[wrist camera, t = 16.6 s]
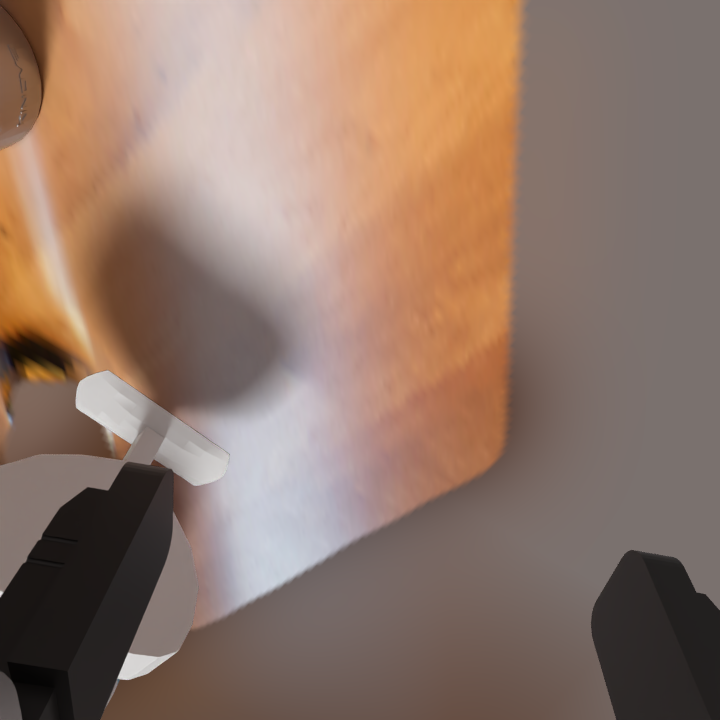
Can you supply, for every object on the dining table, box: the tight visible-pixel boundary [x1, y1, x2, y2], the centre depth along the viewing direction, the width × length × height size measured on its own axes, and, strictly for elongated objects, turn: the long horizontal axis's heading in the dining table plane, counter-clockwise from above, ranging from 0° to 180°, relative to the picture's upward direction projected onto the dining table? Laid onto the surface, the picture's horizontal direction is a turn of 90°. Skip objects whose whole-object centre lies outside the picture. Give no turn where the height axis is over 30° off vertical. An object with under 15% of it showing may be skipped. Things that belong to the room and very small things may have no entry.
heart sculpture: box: [0, 370, 230, 680], centre depth 41 cm, size 16×5×18 cm, turn 47°
